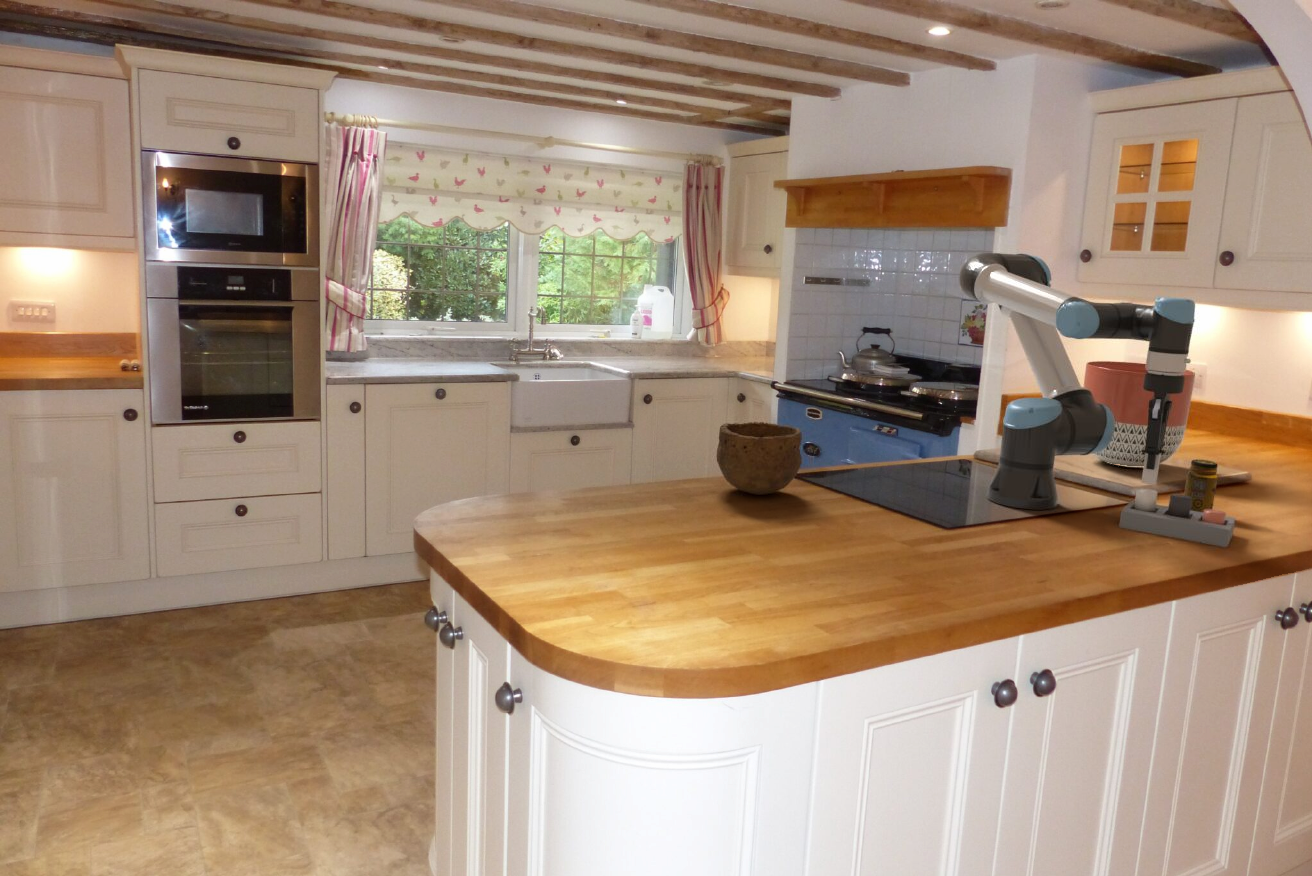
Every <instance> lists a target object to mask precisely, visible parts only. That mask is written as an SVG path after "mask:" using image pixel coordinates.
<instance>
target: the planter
mask: <svg viewBox="0 0 1312 876" xmlns="http://www.w3.org/2000/svg"><path fill="white" fill-rule="evenodd" d="M1145 367H1146V363H1140V362H1128V361H1109V360H1101V361H1100V360H1097V361H1095V360H1094V361H1088V362H1086V364H1085V369H1084V370H1085V372H1084V377H1083V379H1084V380H1083V387H1084V388H1087V389H1089V390H1090V391H1091V393H1092V395H1093V398H1094V400H1095V402H1096V404H1097V403H1101V404H1103V405H1104V406H1107V407H1108V408H1109V409H1110V410H1111V412H1112V414H1113V416H1114V420H1115V431H1114V434H1113V436H1112V440H1111V442H1110V443H1109V445H1108V446H1107V447H1106V448H1105V449H1104V450H1102V451H1100V452H1098V453H1094V454H1092V455H1094V457H1096V458H1097V459H1098V460H1099V461H1101V460H1102V461H1101V462H1103V461H1105V462H1109V463H1112V464H1120V465H1127V466H1144V461H1145V454H1146V453H1142V450H1143V449H1144V450H1145V445H1146V435H1147V426H1148V413H1149V412H1148V410H1149V407H1148V406H1149V401H1150V400H1151V399H1153V397H1154V392H1152V391H1146V390H1144V389H1143V383H1144V376H1145V373H1146V372H1148V370H1147V369H1146V368H1145ZM1182 375H1183V376H1184V377H1185V381H1184V388H1183V392H1182V393H1180V394H1170V400H1169V401H1172V408H1171V409H1170V413H1169V419H1168V421H1167V427H1166V432H1165V438H1164V443H1163V445H1164V446H1163V448H1162V450H1165V454H1163V453H1159V454H1161V456H1160V463H1159V465H1160V464H1162V463H1164V462H1166V461H1167V460H1168V459H1170V458H1172V456H1174V455H1175V454H1176V452H1177V451H1178V449H1179V448H1180V446H1181V445H1182V441H1183V439H1184V436H1185V433H1186V428H1187V424H1188V420H1189V419H1188V418H1189V413H1190V406H1191V401H1192V395H1193V391H1194V387H1195V386H1194V384H1195V378H1196V372H1194V371H1192V370H1188V369H1186V372H1185V373H1182ZM1105 462H1104V463H1105Z"/></svg>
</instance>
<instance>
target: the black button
mask: <svg viewBox="0 0 1312 876" xmlns="http://www.w3.org/2000/svg"><path fill="white" fill-rule="evenodd" d="M1191 501H1192V497H1190V496H1186V495H1184V494H1180V493H1174V494H1173V493H1171V494H1170V495H1169V503H1168V507H1169V508H1168V514H1169V515H1171V516H1175V517H1182V518H1187V517H1189V513H1190V507H1191Z"/></svg>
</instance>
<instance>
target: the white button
mask: <svg viewBox="0 0 1312 876" xmlns="http://www.w3.org/2000/svg"><path fill="white" fill-rule="evenodd" d="M1157 498H1158V491H1157V490H1154V489H1151V488H1143V487H1141V488H1137V489H1136V493H1135V499H1134V501H1135V505H1134V508H1135V509H1138V510H1141V511H1149V512H1152V511H1155V506H1156V504H1157V500H1158V499H1157Z"/></svg>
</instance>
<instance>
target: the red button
mask: <svg viewBox="0 0 1312 876" xmlns="http://www.w3.org/2000/svg"><path fill="white" fill-rule="evenodd" d="M1226 514H1227V512H1225V511H1222V510H1219V509H1213V508H1212V509H1204V512H1203V518H1202V521H1203V522H1209V523H1214V524H1220V525H1224V521H1225V516H1227V515H1226Z"/></svg>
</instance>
